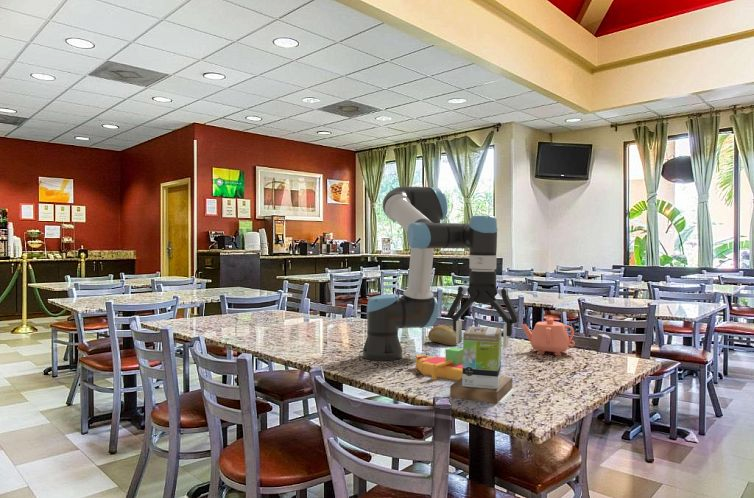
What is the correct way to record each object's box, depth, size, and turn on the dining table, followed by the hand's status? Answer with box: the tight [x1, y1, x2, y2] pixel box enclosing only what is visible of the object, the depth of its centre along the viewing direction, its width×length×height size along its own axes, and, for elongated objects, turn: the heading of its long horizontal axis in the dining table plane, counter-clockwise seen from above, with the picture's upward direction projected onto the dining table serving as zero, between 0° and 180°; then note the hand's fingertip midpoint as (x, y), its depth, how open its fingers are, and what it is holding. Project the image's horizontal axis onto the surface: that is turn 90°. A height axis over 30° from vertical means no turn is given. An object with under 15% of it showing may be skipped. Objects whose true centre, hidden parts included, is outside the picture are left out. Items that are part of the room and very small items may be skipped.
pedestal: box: [449, 376, 513, 404], centre depth 150 cm, size 13×17×3 cm
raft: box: [415, 347, 463, 381], centre depth 173 cm, size 23×30×9 cm
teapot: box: [521, 317, 576, 357], centre depth 210 cm, size 16×17×14 cm
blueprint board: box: [438, 386, 518, 405], centre depth 150 cm, size 18×16×1 cm
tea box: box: [462, 325, 502, 389], centre depth 150 cm, size 15×10×15 cm, turn 165°
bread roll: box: [427, 324, 458, 347], centre depth 228 cm, size 10×15×8 cm, turn 45°
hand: (481, 345), depth 150 cm, fingers open, 13 cm apart
